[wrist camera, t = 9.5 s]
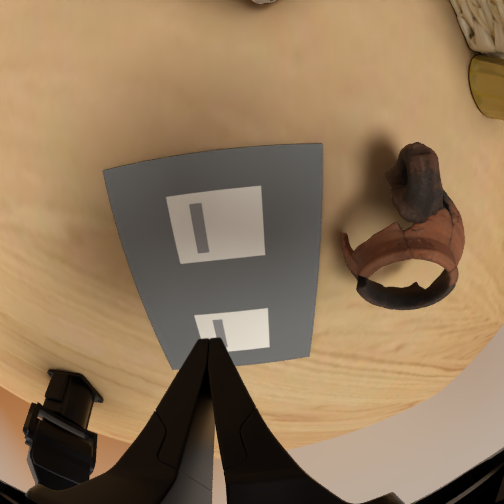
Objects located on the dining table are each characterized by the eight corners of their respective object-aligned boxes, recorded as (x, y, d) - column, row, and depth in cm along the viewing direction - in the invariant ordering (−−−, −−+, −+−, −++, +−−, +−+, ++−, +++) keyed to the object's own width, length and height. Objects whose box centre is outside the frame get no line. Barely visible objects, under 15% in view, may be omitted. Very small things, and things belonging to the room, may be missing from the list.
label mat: (309, 354, 26) (309, 356, 26) (172, 368, 25) (172, 369, 25) (321, 143, 16) (322, 143, 15) (103, 170, 15) (102, 171, 15)
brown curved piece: (443, 232, 20) (457, 312, 16) (350, 238, 25) (345, 318, 20) (450, 112, 12) (504, 191, 8) (321, 124, 16) (313, 204, 12)
